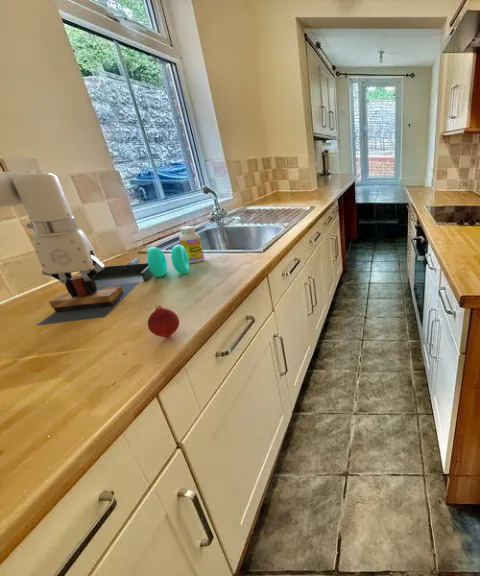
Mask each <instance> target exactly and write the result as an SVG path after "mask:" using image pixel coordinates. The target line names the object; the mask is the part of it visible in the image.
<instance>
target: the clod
mask: <svg viewBox="0 0 480 576" xmlns="http://www.w3.org/2000/svg"><path fill="white" fill-rule="evenodd" d="M107 289H117V290H118V292H119V295H121V294H122V293H124V292H123V290H122V287H106V288H104V289H103V290H107ZM119 295H118V296H119Z"/></svg>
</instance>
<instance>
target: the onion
mask: <svg viewBox="0 0 480 576" xmlns="http://www.w3.org/2000/svg"><path fill="white" fill-rule="evenodd" d="M179 326H180V319H179V316H178V315H177V314H176V313H175V311H173V310H171V309H169V308H165V307H162V305H161V304H157V305H156V306H155V310H154V311H153V312H152V313H150V315H149V316H148V318H147V327H148V330H149V331H150V332H151V333H152V334H153V335H155V336H157V337H161V338H171V336H172V335H174V334H175V333H176V332H177V330H178V328H179Z"/></svg>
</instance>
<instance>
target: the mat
mask: <svg viewBox="0 0 480 576" xmlns="http://www.w3.org/2000/svg"><path fill="white" fill-rule="evenodd" d="M140 283H141V282H136V283H126V284H116V285H106V286H96V287H97V290H103V289H104V288H106V287H122V290H123V292H124V293H122V294H121V295H119V298H120V300H119V301H118V302H116V303H115V304H114V305H113V306H111V307H102V308H92V309H83V310H74V311H65V312H55V311H53V312H52V313H51V314H50V315H48V316H47V317H45V318H44V319H43V320H41V321H40V322H39V323H37V324H36V326H44V325H53V324H59V323H68V322H77V321H83V320H91V319H100V318H105V317H107V316H108V315H109V314H110V313H111V312H112V311H113V310H114V309H115V308H116V307H117V306H118V305H119V304H120V303H121V302H122V301H123V300H124V299H126V297H127V296H128V295H130V293H131V292H132V291H133V290H134V289H135V288H136V287H137V286H138V285H139V284H140Z"/></svg>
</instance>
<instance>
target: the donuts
mask: <svg viewBox="0 0 480 576" xmlns="http://www.w3.org/2000/svg"><path fill="white" fill-rule="evenodd" d="M170 256H171V263H172V265H173V268H174V270H175V271H176V272H177V273H179V274H182V275H185V274H187V273H188V272H189V271H190V263H189V260H188V255H187V252H186V250H185V248H184V247H183V246H182V245H181V244H175V245H174V246H173V247H172V249H171V252H170ZM146 261H147V263H148V265H149V268H150V271H151V272H152V276H154V277H156V278H162V277H163V276H165V274H166V273H167V271H168V263H167V258H166V255H165V253H164V252H163V250H162V249H161V248H159V247H157V246H152V247H149V248H148V249H147V252H146Z"/></svg>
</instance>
